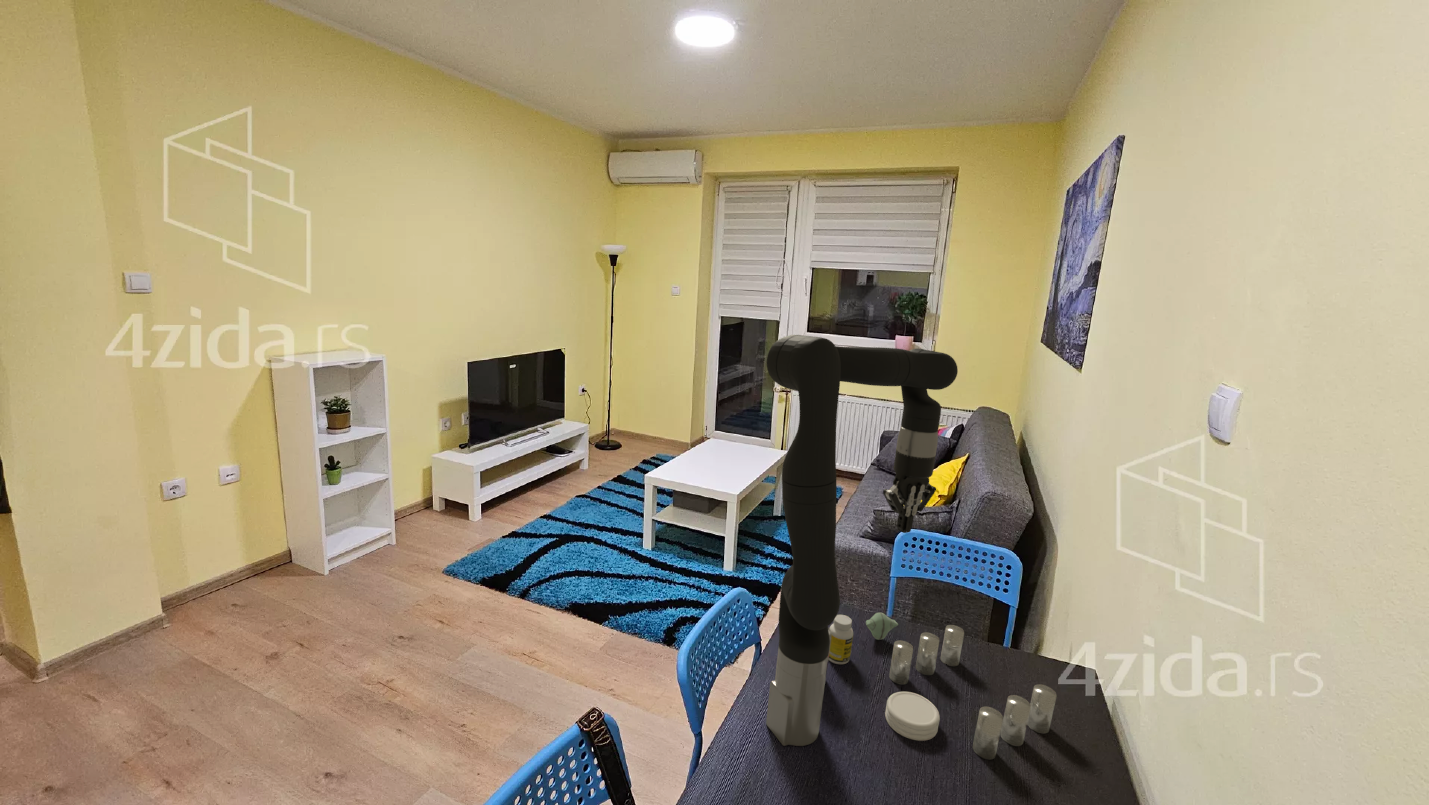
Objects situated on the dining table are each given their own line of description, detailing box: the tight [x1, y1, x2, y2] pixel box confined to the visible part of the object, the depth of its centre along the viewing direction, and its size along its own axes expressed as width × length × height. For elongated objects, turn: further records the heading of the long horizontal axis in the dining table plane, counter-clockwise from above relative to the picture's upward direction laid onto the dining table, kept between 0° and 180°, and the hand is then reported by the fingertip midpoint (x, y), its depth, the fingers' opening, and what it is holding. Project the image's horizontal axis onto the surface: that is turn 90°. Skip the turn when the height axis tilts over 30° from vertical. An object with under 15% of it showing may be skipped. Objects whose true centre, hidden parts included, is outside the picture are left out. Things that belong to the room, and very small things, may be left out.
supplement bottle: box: [828, 614, 854, 665], centre depth 135 cm, size 5×5×10 cm
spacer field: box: [888, 624, 1058, 761], centre depth 124 cm, size 20×26×8 cm
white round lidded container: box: [884, 691, 941, 742], centre depth 118 cm, size 10×10×4 cm
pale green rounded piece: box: [865, 612, 899, 641], centre depth 144 cm, size 8×4×7 cm, turn 98°
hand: (903, 531), depth 122 cm, fingers closed
